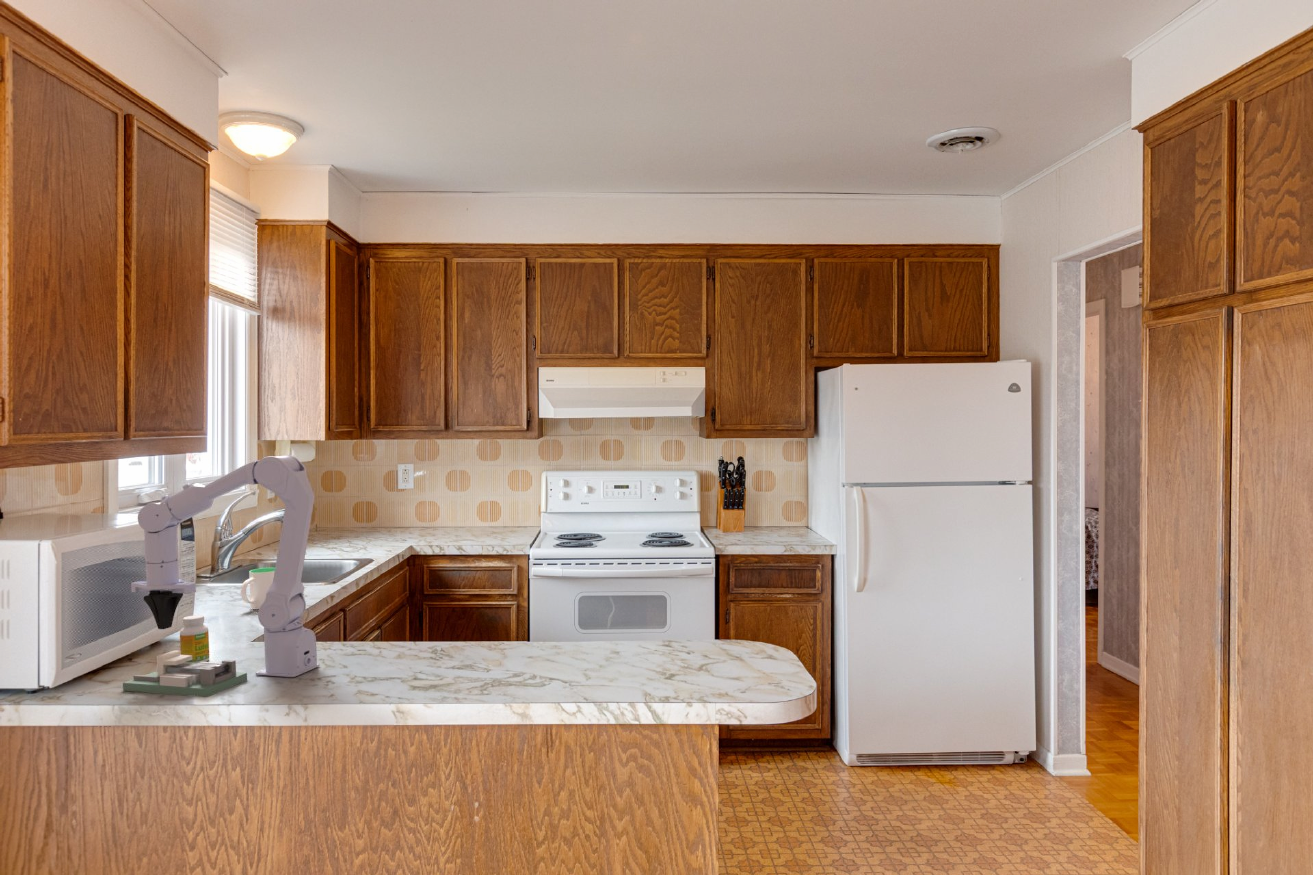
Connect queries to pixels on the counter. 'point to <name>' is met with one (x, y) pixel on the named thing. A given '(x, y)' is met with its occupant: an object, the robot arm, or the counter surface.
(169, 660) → the clip
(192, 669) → the strap
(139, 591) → the robot arm
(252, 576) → the mug
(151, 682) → the heatsink board
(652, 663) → the counter surface
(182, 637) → the supplement bottle
